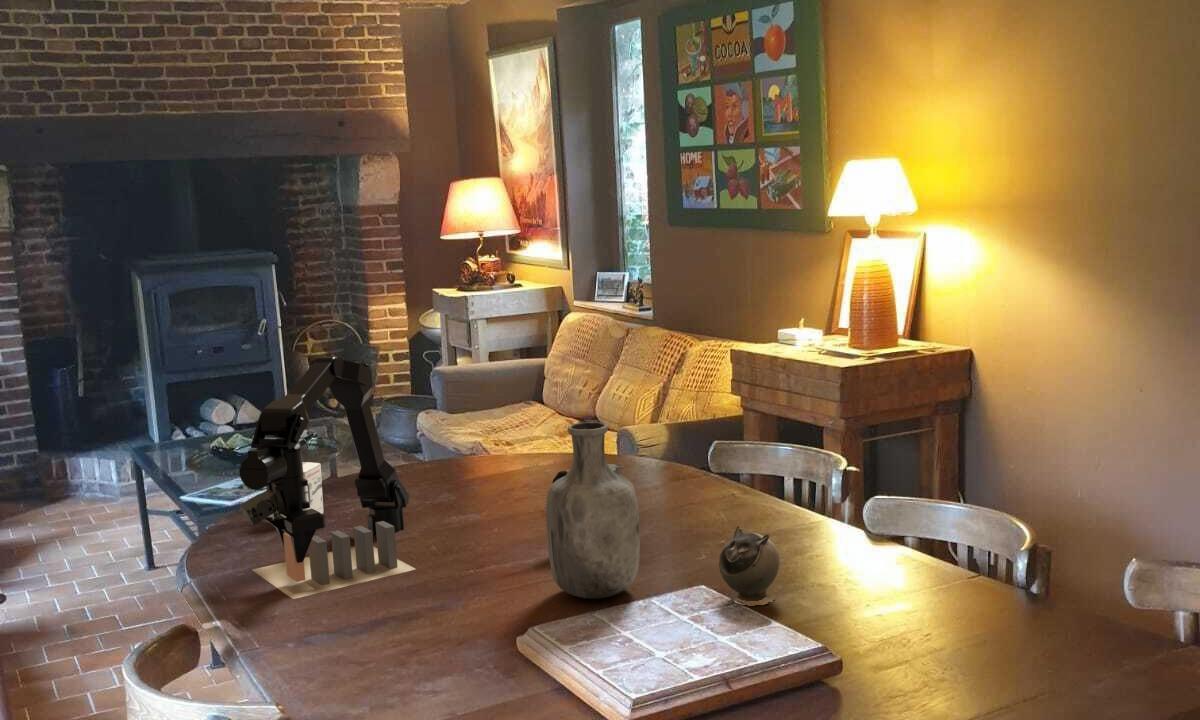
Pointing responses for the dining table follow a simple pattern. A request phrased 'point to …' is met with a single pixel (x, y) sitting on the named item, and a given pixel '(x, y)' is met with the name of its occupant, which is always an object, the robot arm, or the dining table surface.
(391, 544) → the domino
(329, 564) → the domino board
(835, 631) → the dining table surface
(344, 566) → the domino
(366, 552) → the domino
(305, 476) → the ink box
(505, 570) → the dining table surface
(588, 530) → the vase
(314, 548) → the domino
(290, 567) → the end tile
